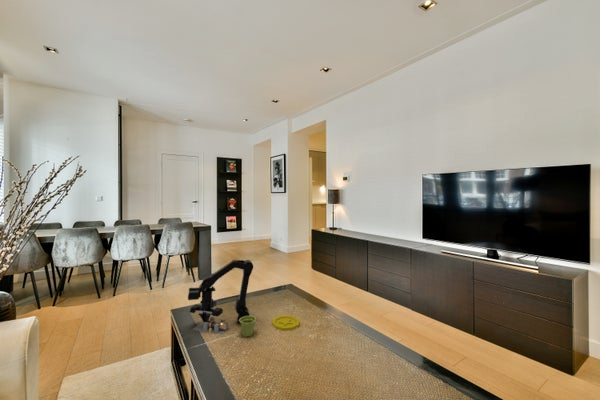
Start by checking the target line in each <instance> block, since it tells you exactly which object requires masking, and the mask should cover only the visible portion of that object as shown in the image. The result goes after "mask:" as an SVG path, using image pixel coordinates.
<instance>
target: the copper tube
mask: <svg viewBox="0 0 600 400" xmlns="http://www.w3.org/2000/svg"><path fill="white" fill-rule="evenodd" d="M215 324H219V330H227V329H228V326H229V323H228V322H225V323H224V322H221V321H219V322H218V320H217V321H216V320H214V321H210V320H208V328H212V329H214V325H215ZM228 330H229V329H228ZM228 330H227V331H228Z"/></svg>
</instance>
